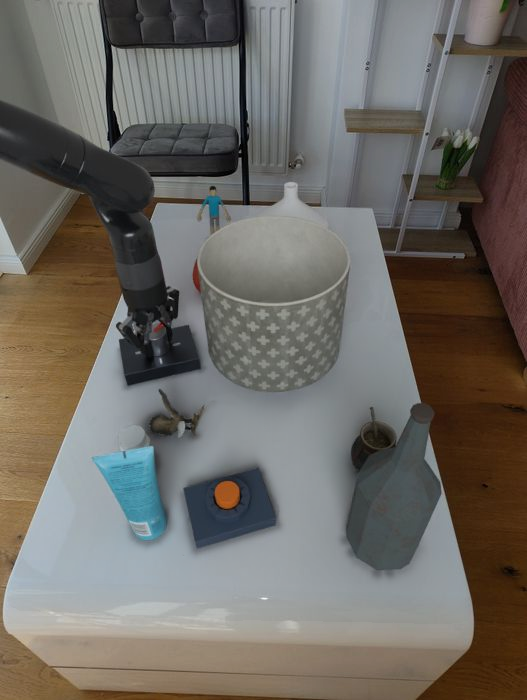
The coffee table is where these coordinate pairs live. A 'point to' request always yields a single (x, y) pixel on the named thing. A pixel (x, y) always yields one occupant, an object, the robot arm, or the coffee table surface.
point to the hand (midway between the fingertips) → (157, 346)
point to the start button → (227, 494)
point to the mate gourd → (372, 441)
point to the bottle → (394, 498)
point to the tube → (135, 489)
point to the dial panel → (160, 358)
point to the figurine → (213, 209)
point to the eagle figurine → (173, 420)
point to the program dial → (159, 340)
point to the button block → (233, 522)
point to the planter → (273, 301)
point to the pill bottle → (133, 438)
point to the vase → (294, 207)
